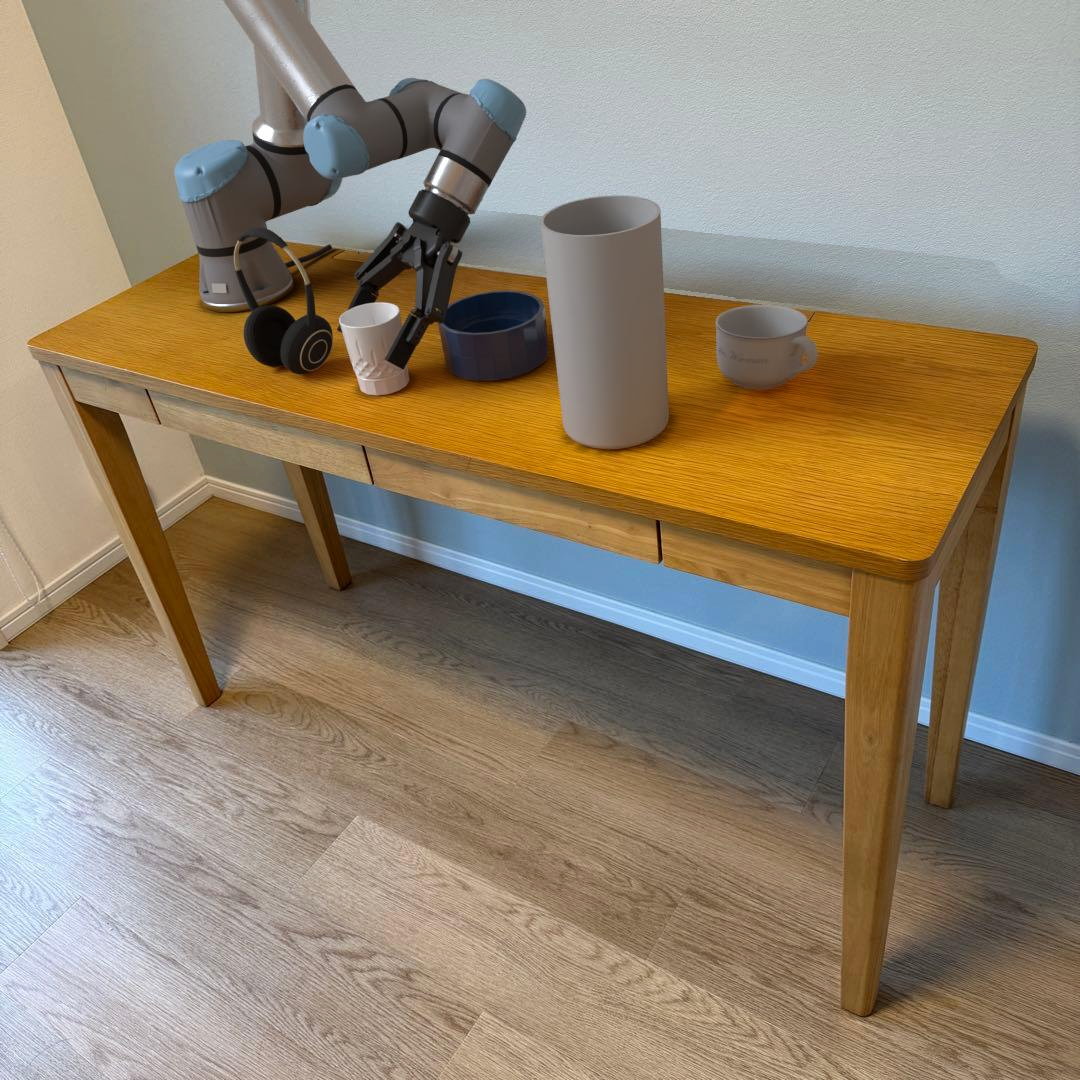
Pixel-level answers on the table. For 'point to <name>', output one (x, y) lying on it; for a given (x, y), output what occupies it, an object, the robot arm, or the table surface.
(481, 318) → the navy blue bowl
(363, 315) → the white cup
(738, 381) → the teacup
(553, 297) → the cylinder vase
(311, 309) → the headphones
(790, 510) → the table surface
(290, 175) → the robot arm
